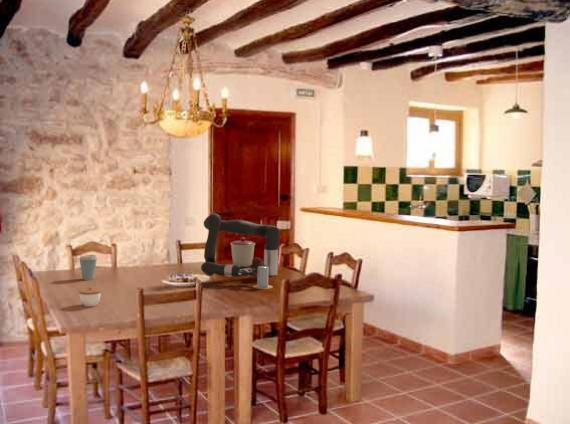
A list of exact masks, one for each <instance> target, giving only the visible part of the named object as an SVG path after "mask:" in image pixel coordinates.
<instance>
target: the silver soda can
mask: <svg viewBox="0 0 570 424" xmlns="http://www.w3.org/2000/svg"><path fill="white" fill-rule="evenodd" d="M268 271H269V268H268V267H267V266H259V267H258V268H257V274H256V278H257V280H256V285H257V287H259V288H267V287H268V285H269V275H268Z"/></svg>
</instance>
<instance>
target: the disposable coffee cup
mask: <svg viewBox="0 0 570 424" xmlns="http://www.w3.org/2000/svg"><path fill="white" fill-rule="evenodd" d="M97 257H98V256H97V255H96V254H86V255H81V256H80V257H79V264H80V271H81V277H82V279H83V280H85V281H86V280H87V281H90V280H91V281H92V280H94V279H95V273H96V267H97V260H98V258H97Z"/></svg>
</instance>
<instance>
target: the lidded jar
mask: <svg viewBox="0 0 570 424" xmlns="http://www.w3.org/2000/svg"><path fill="white" fill-rule="evenodd" d="M78 294H79V296H78V297H79V300H80V303H81V304H82V305H83V306H84V307H95V306H97V304H98V303H99V302H100V300H101V296H102V295H101V294H102V289H100V288H93V287H91V286H89V287H87V288H82V289H80V290H79V291H78Z"/></svg>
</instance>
